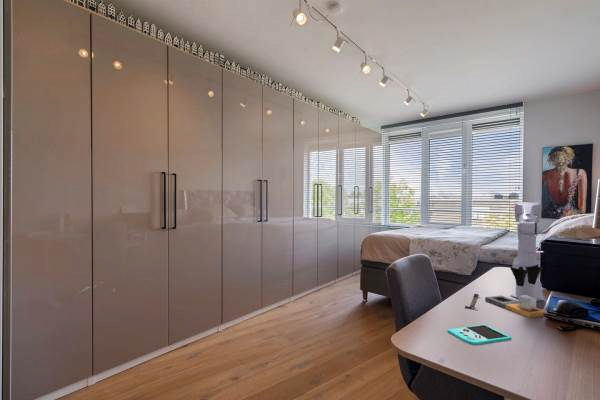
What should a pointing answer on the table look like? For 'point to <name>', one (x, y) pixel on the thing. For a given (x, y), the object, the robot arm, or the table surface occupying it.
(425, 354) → the table surface
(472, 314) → the table surface
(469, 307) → the tactical tomahawk
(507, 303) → the rail plate
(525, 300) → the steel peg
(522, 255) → the robot arm
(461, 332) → the handheld game console
